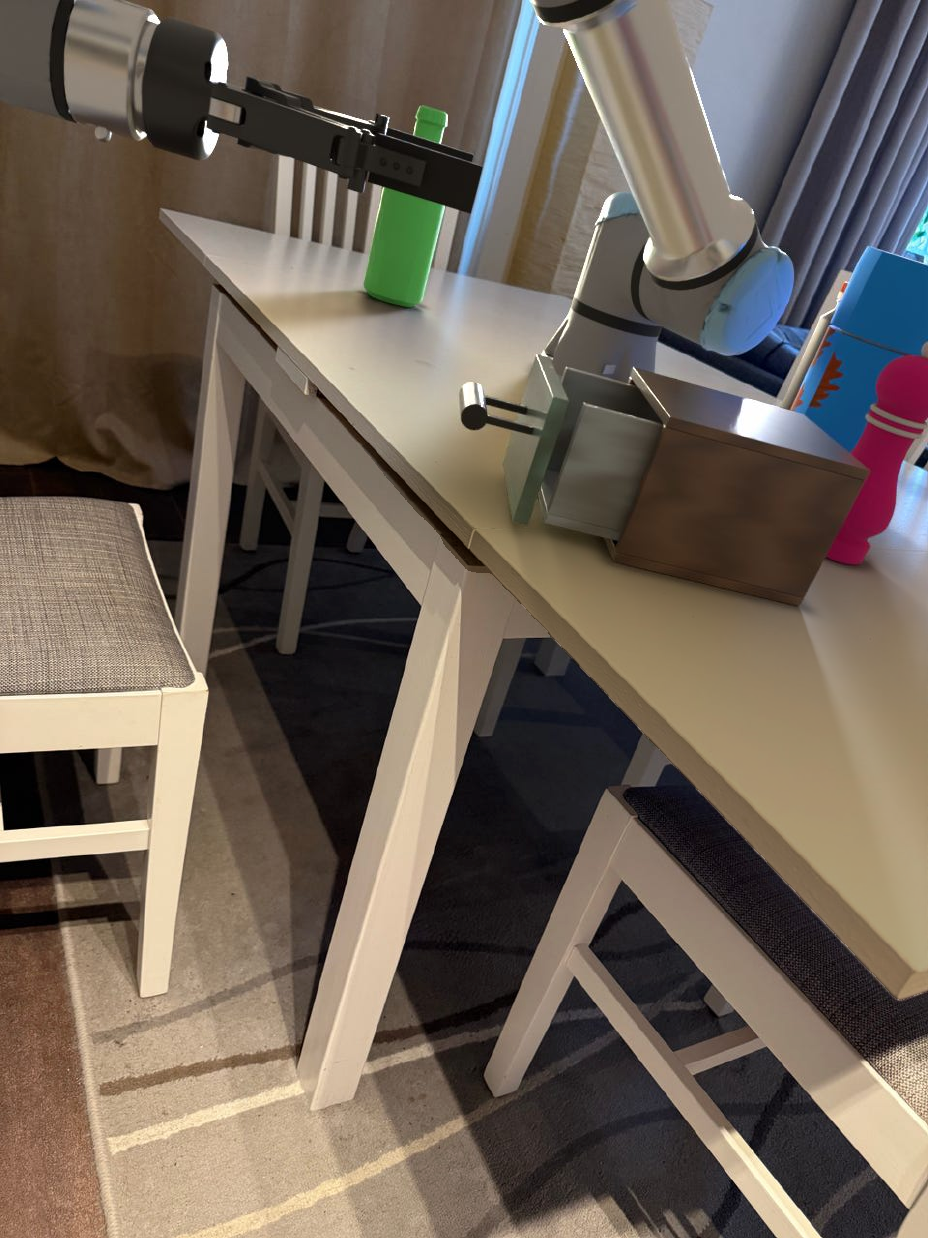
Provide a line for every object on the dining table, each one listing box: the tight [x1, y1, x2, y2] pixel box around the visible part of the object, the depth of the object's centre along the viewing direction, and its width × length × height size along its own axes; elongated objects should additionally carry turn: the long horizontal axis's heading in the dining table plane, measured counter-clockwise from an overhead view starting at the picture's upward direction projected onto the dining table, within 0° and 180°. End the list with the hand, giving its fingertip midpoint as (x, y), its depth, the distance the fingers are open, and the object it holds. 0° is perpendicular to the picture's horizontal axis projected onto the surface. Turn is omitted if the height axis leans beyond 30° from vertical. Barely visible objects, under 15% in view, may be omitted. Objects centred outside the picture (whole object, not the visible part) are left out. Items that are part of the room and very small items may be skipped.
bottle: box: [363, 105, 448, 308], centre depth 124 cm, size 9×9×25 cm
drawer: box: [458, 353, 664, 541], centre depth 70 cm, size 20×12×10 cm, turn 91°
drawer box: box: [604, 367, 870, 607], centre depth 72 cm, size 16×14×12 cm
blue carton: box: [790, 245, 928, 453], centre depth 94 cm, size 11×11×25 cm
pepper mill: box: [825, 342, 928, 566], centre depth 80 cm, size 7×7×20 cm
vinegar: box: [779, 281, 849, 410], centre depth 125 cm, size 7×7×20 cm
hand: (472, 181), depth 61 cm, fingers open, 13 cm apart
